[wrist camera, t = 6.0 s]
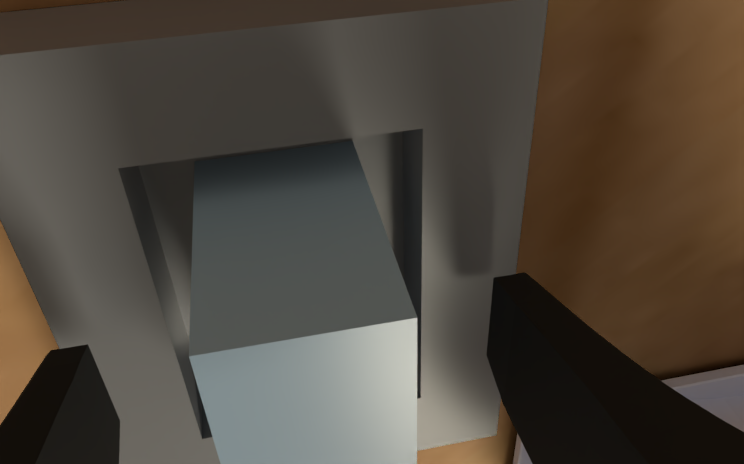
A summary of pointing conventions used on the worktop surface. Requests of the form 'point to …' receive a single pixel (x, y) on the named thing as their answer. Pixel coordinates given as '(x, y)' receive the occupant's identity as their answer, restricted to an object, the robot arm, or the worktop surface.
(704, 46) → the worktop surface
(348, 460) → the block
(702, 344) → the worktop surface
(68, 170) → the grey slotted base
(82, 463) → the robot arm
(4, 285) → the worktop surface
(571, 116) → the worktop surface
